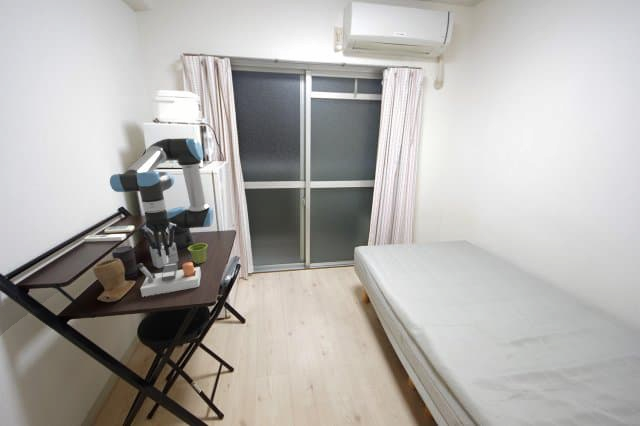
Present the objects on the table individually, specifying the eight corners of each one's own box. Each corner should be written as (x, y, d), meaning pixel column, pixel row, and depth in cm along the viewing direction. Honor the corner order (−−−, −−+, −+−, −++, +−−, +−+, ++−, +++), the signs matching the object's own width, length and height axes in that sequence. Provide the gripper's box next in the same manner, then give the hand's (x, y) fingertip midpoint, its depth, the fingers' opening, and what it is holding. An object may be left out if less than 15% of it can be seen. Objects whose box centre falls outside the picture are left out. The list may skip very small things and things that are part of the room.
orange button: (185, 274, 120) (183, 263, 118) (195, 272, 122) (193, 261, 120) (183, 279, 116) (181, 267, 114) (194, 277, 118) (192, 265, 116)
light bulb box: (173, 257, 144) (169, 240, 140) (179, 261, 140) (176, 242, 137) (152, 265, 135) (148, 246, 132) (158, 269, 131) (154, 249, 128)
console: (149, 282, 119) (147, 271, 117) (200, 273, 126) (199, 263, 125) (142, 297, 108) (139, 284, 107) (198, 286, 116) (196, 275, 114)
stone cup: (111, 285, 117) (103, 255, 113) (139, 282, 119) (132, 253, 115) (88, 305, 103) (78, 272, 99) (120, 303, 105) (112, 270, 100)
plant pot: (202, 266, 134) (200, 251, 132) (186, 264, 136) (184, 249, 133) (212, 258, 143) (210, 243, 140) (198, 256, 145) (195, 242, 142)
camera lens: (116, 283, 119) (108, 253, 114) (121, 275, 126) (114, 247, 122) (137, 279, 122) (130, 250, 118) (141, 271, 129) (134, 244, 125)
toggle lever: (150, 279, 115) (136, 263, 111) (156, 276, 115) (141, 261, 111) (149, 282, 112) (134, 266, 109) (154, 279, 113) (140, 263, 109)
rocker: (165, 266, 118) (164, 263, 117) (177, 265, 120) (176, 261, 119) (162, 281, 111) (161, 277, 110) (175, 279, 113) (174, 275, 112)
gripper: (133, 214, 98) (146, 269, 105) (171, 211, 102) (181, 263, 109) (139, 209, 104) (150, 261, 111) (174, 206, 109) (184, 256, 116)
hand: (166, 262), depth 110 cm, fingers closed
